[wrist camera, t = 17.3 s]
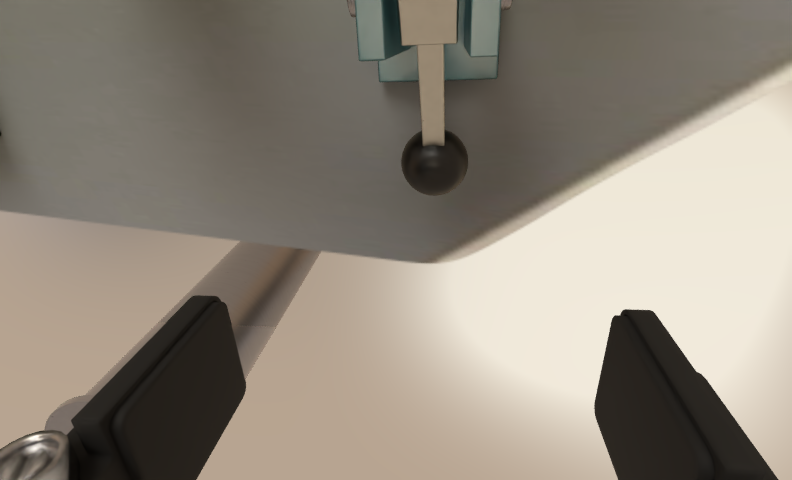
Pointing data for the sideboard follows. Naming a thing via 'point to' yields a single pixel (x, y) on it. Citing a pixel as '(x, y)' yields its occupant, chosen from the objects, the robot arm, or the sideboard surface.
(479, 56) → the teal lever mount
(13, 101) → the sideboard surface
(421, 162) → the ball knob lever
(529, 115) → the sideboard surface
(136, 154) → the sideboard surface
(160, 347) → the robot arm
